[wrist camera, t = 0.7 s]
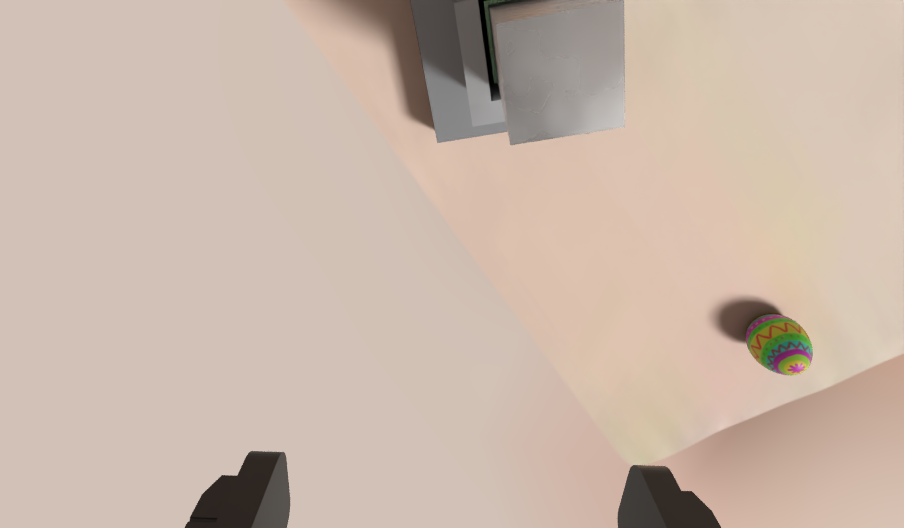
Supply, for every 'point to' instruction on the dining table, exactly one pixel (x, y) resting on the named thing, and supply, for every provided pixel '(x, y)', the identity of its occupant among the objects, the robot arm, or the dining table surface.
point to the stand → (458, 68)
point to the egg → (779, 344)
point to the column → (557, 65)
